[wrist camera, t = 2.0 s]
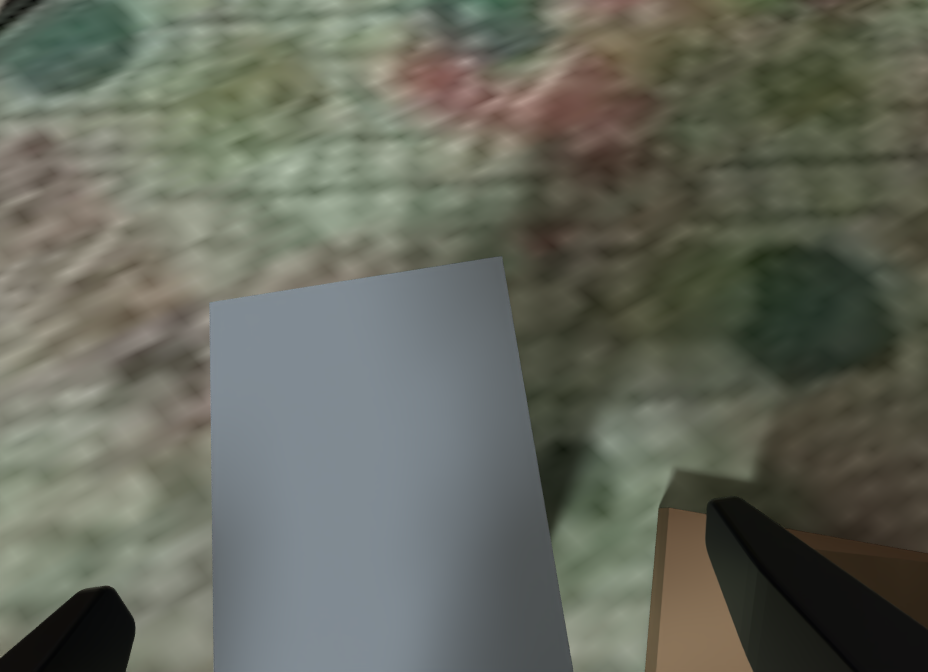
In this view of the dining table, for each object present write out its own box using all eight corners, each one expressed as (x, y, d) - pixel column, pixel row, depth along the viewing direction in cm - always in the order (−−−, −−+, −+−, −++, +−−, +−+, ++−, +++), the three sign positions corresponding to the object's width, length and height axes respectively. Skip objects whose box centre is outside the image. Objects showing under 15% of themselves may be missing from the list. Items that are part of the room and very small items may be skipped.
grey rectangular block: (535, 574, 17) (572, 673, 6) (397, 593, 17) (214, 723, 7) (507, 403, 18) (502, 256, 8) (380, 422, 19) (209, 302, 8)
